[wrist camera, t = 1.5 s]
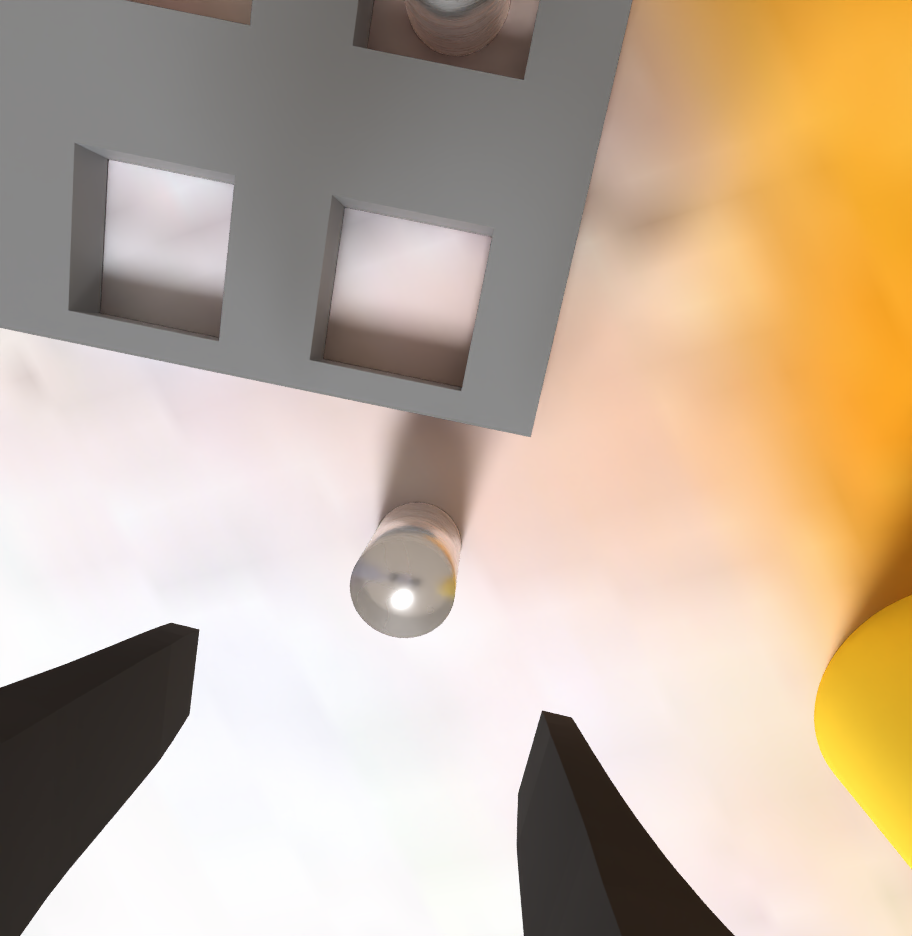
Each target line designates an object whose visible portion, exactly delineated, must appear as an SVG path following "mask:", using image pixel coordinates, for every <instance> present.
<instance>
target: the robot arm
mask: <svg viewBox="0 0 912 936" xmlns="http://www.w3.org/2000/svg"><path fill="white" fill-rule="evenodd" d="M198 637H199V629H195V628H191V627H187V626H182V625H178V624H174V623H169V624H166V625H163V626H160V627H157V628H155V629H152V630H149V631H147V632H144V633H142V634H139V635H137V636H134V637H132V638H129V639H127V640H124V641H122V642H120V643H117V644H115V645H112V646H110V647H107V648H105V649H102V650H100V651H97V652H95V653H92V654H90V655H87V656H85V657H82V658H80V659H77V660H75V661H72V662H70V663H67V664H65V665H62V666H59V667H56V668H54V669H51V670H48V671H45V672H43V673H40V674H37V675H34V676H32V677H29V678H26V679H23V680H20V681H18V682H15V683H12V684H9V685H7V686H4V687H1V688H0V936H20V935H21V934H22V932H23V931H24V930H25V928H26V927H27V925H28V924H29V922H30V921H31V920H32V918H33V917H34V915H35V914H36V913H37V911H38V910H39V908H40V907H41V905H42V904H43V903H44V901H45V900H46V898H47V897H48V896H49V895H50V893H51V892H52V891H53V889H54V888H55V887H56V886H57V884H58V883H59V882H60V880H61V879H62V878H63V877H64V875H65V874H66V873H67V871H68V870H69V869H70V868H71V867H72V865H73V864H74V863H75V862H76V861H77V859H78V858H79V857H80V856H81V855H82V853H83V852H84V851H85V850H86V849H87V847H88V846H89V845H90V844H91V843H92V841H93V840H94V839H95V838H96V837H97V835H98V834H99V833H100V832H101V831H102V829H103V828H104V827H105V826H106V825H107V823H108V822H109V821H110V820H111V819H112V818H113V816H114V815H115V814H116V813H117V812H118V810H119V809H120V808H121V807H122V806H123V804H124V803H125V802H126V801H127V800H128V798H129V797H130V796H131V795H132V794H133V792H134V791H135V790H136V789H137V787H138V786H139V785H140V784H141V783H142V781H143V780H144V779H145V778H146V777H147V775H148V774H149V773H150V772H151V770H152V769H153V768H154V767H155V765H156V764H157V763H158V762H159V760H160V759H161V757H162V756H163V755H164V753H165V752H166V750H167V749H168V747H169V746H170V744H171V743H172V741H173V740H174V738H175V736H176V735H177V733H178V732H179V730H180V729H181V727H182V725H183V724H184V722H185V721H186V719H187V717H188V716H189V713H190V705H191V696H192V688H193V679H194V671H195V662H196V654H197V645H198ZM517 858H518V871H519V883H520V895H521V907H522V919H523V930H524V936H734V935H733V934H732V932H731V931H730V930H729V929H728V928H727V927H726V926H725V925H724V924H723V923H722V922H721V921H720V920H719V919H718V918H717V916H716V915H715V914H714V913H713V912H712V911H711V910H710V909H709V908H708V907H707V905H706V904H705V903H704V902H703V901H702V900H701V899H700V897H699V896H698V895H697V894H696V893H695V891H694V890H693V889H692V888H691V887H690V886H689V884H688V883H687V882H686V881H685V880H684V879H683V877H682V876H681V875H680V874H679V873H678V872H677V870H676V869H675V868H674V867H673V865H672V864H671V863H670V862H669V860H668V859H667V858H666V857H665V855H664V854H663V853H662V852H661V850H660V849H659V848H658V846H657V845H656V844H655V842H654V841H653V840H652V838H651V837H650V836H649V834H648V833H647V832H646V830H645V829H644V828H643V826H642V825H641V823H640V822H639V821H638V819H637V818H636V817H635V815H634V814H633V812H632V811H631V809H630V808H629V807H628V805H627V804H626V802H625V801H624V799H623V798H622V796H621V795H620V793H619V792H618V790H617V789H616V787H615V786H614V784H613V783H612V781H611V780H610V778H609V777H608V775H607V774H606V772H605V770H604V769H603V767H602V766H601V764H600V762H599V761H598V759H597V758H596V756H595V754H594V753H593V751H592V750H591V748H590V746H589V745H588V743H587V741H586V740H585V738H584V737H583V735H582V733H581V732H580V730H579V728H578V727H577V725H576V724H575V722H574V720H573V719H572V718H571V717H567V716H563V715H559V714H554V713H550V712H546V711H542V713H541V716H540V720H539V723H538V727H537V730H536V734H535V737H534V741H533V744H532V747H531V751H530V754H529V758H528V761H527V765H526V768H525V772H524V775H523V779H522V782H521V786H520V789H519V793H518V814H517Z"/></svg>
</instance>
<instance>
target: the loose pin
mask: <svg viewBox="0 0 912 936" xmlns="http://www.w3.org/2000/svg"><path fill="white" fill-rule="evenodd" d="M460 551H461V538H460V534H459V530H458V528H457V526H456V524H455V523H454V521H453V520H452V518H451V517H450V516H449V515H448V514H447V513H445V512H444V511H443V510H441V509H440V508H438V507H436V506H433V505H431V504H427V503H421V502H414V503H407V504H403V505H401V506H398V507H397V508H395V509H393V510H392V511H390V512H389V513H388V514H387V515H386V516H385V517H384V519H383V520H382V522H381V523H380V525H379V527H378V528H377V530H376V532H375V533H374V535H373V537H372V538H371V540H370V542H369V543H368V545H367V547H366V548H365V550H364V552H363V553H362V555H361V557H360V558H359V560H358V562H357V563H356V565H355V567H354V569H353V572H352V575H351V580H350V593H351V598H352V601H353V604H354V607H355V609H356V611H357V612H358V614H359V615H360V616H361V618H362V619H363V620H364V621H365V622H366V623H367V624H368V625H369V626H371V627H372V628H374V629H375V630H377V631H379V632H381V633H383V634H386V635H389V636H392V637H398V638H412V637H417V636H421V635H424V634H427V633H429V632H431V631H432V630H434V629H435V628H437V627H438V626H439V625H440V624H441V623H442V622H443V621H444V620H445V619H446V617H447V616H448V614H449V613H450V611H451V608H452V606H453V602H454V597H455V590H456V582H457V574H458V566H459V559H460Z"/></svg>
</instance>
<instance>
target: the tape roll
mask: <svg viewBox="0 0 912 936" xmlns="http://www.w3.org/2000/svg"><path fill="white" fill-rule="evenodd" d="M814 724H815V732H816V737H817V741H818V744H819V747H820V750H821V752H822V755H823V757H824V759H825V761H826V762H827V764H828V766H829V767H830V769H831V770H832V771H833V773H834V774H835V775H836V777H837V778H838V779H839V780H840V781H841V783H842V784H843V785H844V786H845V788H846V789H847V790H848V791H849V793H850V794H851V795H852V796H853V797H854V799H855V800H856V801H857V802H858V804H859V805H860V806H861V807H862V809H863V810H864V811H865V812H866V813H867V815H868V816H869V817H870V818H871V820H872V821H873V822H874V823H875V825H876V826H877V827H878V828H879V829H880V831H881V832H882V833H883V834H884V836H885V837H886V838H887V839H888V841H889V842H890V843H891V844H892V845H893V847H894V848H895V849H896V850H897V852H898V853H899V854H900V855H901V857H902V858H903V859H904V860H905V861H906V863H907V864H908V865H909V866H910V868H911V869H912V595H910V596H907V597H905V598H903V599H901V600H899V601H896V602H894V603H893V604H891V605H889V606H887V607H885V608H884V609H882V610H880V611H879V612H877V613H876V614H874V615H873V616H872V617H870V618H869V619H868V620H866V621H865V622H864V623H863V624H862V625H860V626H859V627H858V628H857V629H856V630H855V631H854V632H853V633H852V634H851V635H850V636H849V637H848V638H847V639H846V640H845V641H844V643H843V644H842V645H841V646H840V648H839V649H838V650H837V652H836V653H835V654H834V656H833V658H832V659H831V661H830V662H829V664H828V666H827V668H826V670H825V672H824V674H823V677H822V679H821V682H820V685H819V688H818V692H817V696H816V701H815V710H814Z"/></svg>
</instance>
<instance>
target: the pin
mask: <svg viewBox="0 0 912 936" xmlns="http://www.w3.org/2000/svg"><path fill="white" fill-rule="evenodd" d="M404 1H405V5H406V9H407V13H408V17H409V20H410V23H411V25H412V27H413V29H414V31H415V32H416V34H417V35H418V37H419V38H420V39H421V40H422V41H423V42H424V43H425V44H426V45H427V46H428V47H430V48H431V49H433V50H434V51H437V52H439V53H441V54H444V55H449V56H464V55H469V54H472V53H475V52H477V51H479V50H481V49H482V48H484V47H485V46H487V45H488V44H489V43H490V42H491V41H492V40H493V39H494V38H495V37H496V36H497V34H498V33H499V31H500V30H501V28H502V26H503V24H504V22H505V20H506V17H507V15H508V11H509V7H510V0H404Z"/></svg>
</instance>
